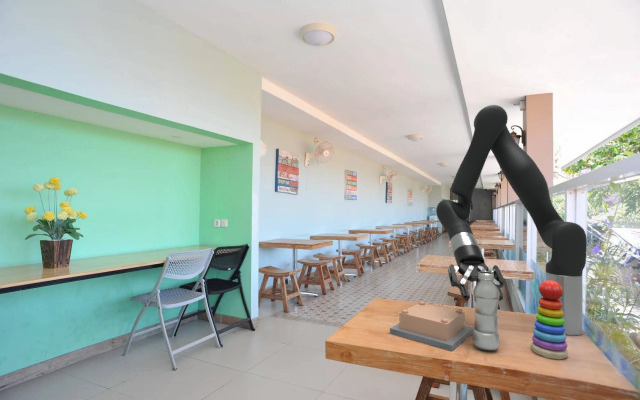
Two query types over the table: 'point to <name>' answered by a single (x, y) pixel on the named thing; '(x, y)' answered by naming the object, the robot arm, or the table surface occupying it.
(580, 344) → the table surface
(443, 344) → the brick tower base
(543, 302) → the stacking toy
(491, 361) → the table surface
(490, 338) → the plastic bottle
